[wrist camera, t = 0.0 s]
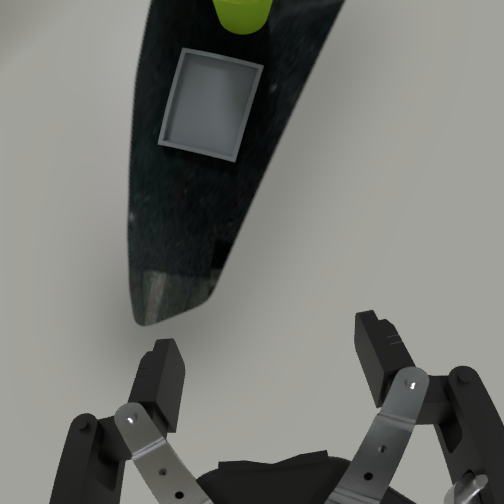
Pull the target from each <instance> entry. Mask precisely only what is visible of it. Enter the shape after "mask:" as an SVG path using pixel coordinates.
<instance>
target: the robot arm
mask: <svg viewBox="0 0 504 504" xmlns="http://www.w3.org/2000/svg"><path fill="white" fill-rule="evenodd" d="M354 342H355V349H356V352H357V355H358V358H359V360H360V363H361V366H362V368H363V371H364V374H365V377H366V379H367V382H368V385H369V388H370V391H371V393H372V396H373V399H374V402H375V405H376V408H379V407H382V408H381V410H380V412H379V414H377V415H376V417H375V418H374V420H373V422H372V424H371V426H370V428H369V431H368V432H367V434H366V436H365V438H364V440H363V442H362V444H361V445H360V447H359V449H358V451H357V453H356V455H355V456H354V458H353V460H352V461H349V460H347V459H343V458H339V457H329V456H328V453H327V450H324V451H318V452H312V453H306V454H300V455H297V456H295V457H292V458H289V459H286V460H283V461H280V462H278V463H274V464H267V463H259V462H251V461H227V462H219V464H218V469H215V470H212V471H209V472H208V473H205V474H203V475H202V476H201V477H199V478H198V479H195V477H194V476H193V475H192V474H191V472H190V471H189V470H188V469H187V467H186V466H185V465H184V464H183V462H182V461H181V460H180V458H179V457H178V455H177V454H176V453H175V451H174V450H173V449H172V447H171V446H170V444H169V443H168V442H167V440H166V437H167V433H176V427H177V421H178V415H179V408H180V402H181V396H182V389H183V384H184V378H185V365H184V362H183V359H182V357H181V354H180V352H179V350H178V347H177V345H176V342H175V340H174V339H173V338H171V339H160V340H156V342H155V346H154V348H153V351H149V352H147V353H146V354H145V355H144V356H143V358H142V359H141V361H140V364H139V367H138V371H137V373H136V378H135V380H134V383H133V386H132V390H131V393H130V397H129V400H128V403H127V404H124V405H123V406H121V407H120V408H119V409H118V410H117V411H116V413H115V415H114V416H111V417H108V418H103V419H99V420H97V419H96V418H95V416H93V415H92V414H89V413H85V414H81V415H79V416H77V417H76V418H75V419H74V420H73V421H72V423H71V425H70V429H69V432H68V435H67V438H66V442H65V445H64V448H63V452H62V455H61V459H60V463H59V466H58V470H57V474H56V478H55V482H54V486H53V490H52V494H51V498H50V503H49V504H119V503H120V495H121V488H122V481H123V474H124V468H125V462H126V460H130V459H132V460H133V462H134V464H135V465H136V467H137V469H138V470H139V472H140V474H141V476H142V477H143V479H144V480H145V482H146V484H147V485H148V487H149V488H150V490H151V491H152V493H153V495H154V496H155V498H156V499H157V501H158V502H159V504H416V503H415V502H413V501H411V500H410V499H408V498H407V497H405V496H404V495H402V494H400V493H399V492H397V491H395V490H394V489H393V488H391V487H390V486H389V484H390V482H391V480H392V478H393V475H394V473H395V471H396V469H397V467H398V465H399V462H400V460H401V458H402V455H403V453H404V451H405V449H406V446H407V444H408V442H409V439H410V437H411V434H412V432H413V429H414V426H415V425H418V424H420V425H423V424H433V425H434V427H435V430H436V433H437V436H438V439H439V442H440V445H441V448H442V451H443V454H444V457H445V461H446V463H447V467H448V470H449V474H450V477H451V480H452V484H453V486H452V487H451V488H450V489H449V490H448V492H447V493H446V495H445V498H444V504H504V425H503V423H502V421H501V418H500V416H499V414H498V412H497V410H496V408H495V406H494V404H493V402H492V400H491V398H490V396H489V394H488V392H487V390H486V388H485V386H484V385H483V383H482V381H481V379H480V377H479V375H478V373H477V372H476V371H475V370H474V369H472V368H471V367H468V366H458V367H455V368H454V369H452V370H451V372H450V373H449V375H448V376H431V375H427V373H426V372H425V371H424V370H422V369H420V368H417V367H416V366H415V364H414V362H413V360H412V358H411V356H410V354H409V353H408V351H407V349H406V347H405V345H404V343H403V342H402V339H401V337H400V336H399V335H398V332H397V330H396V328H395V326H394V325H393V324H391V323H390V322H389V321H388V320H386V319H383V320H378V318H377V316H376V314H375V313H374V311H373V310H369V311H364V312H359V313H356V316H355V335H354Z"/></svg>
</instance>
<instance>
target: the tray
mask: <svg viewBox="0 0 504 504" xmlns="http://www.w3.org/2000/svg"><path fill="white" fill-rule="evenodd" d="M263 67H264V66H263V65H259V64H256V63H252V62H248V61H244V60H240V59H236V58H232V57H227V56H223V55H218V54H214V53H209V52H204V51H199V50H193V49H188V48H182V51H181V55H180V58H179V61H178V65H177V68H176V72H175V76H174V79H173V83H172V87H171V90H170V94H169V98H168V102H167V106H166V110H165V114H164V118H163V123H162V127H161V131H160V136H159V141H158V144H160V145H164V146H169V147H174V148H178V149H183V150H187V151H191V152H196V153H200V154H204V155H208V156H212V157H216V158H220V159H224V160H228V161H232V162H235V161H236V157H237V154H238V150H239V147H240V143H241V140H242V136H243V133H244V129H245V126H246V123H247V119H248V116H249V112H250V109H251V106H252V102H253V99H254V96H255V92H256V89H257V86H258V83H259V79H260V76H261V73H262V70H263Z"/></svg>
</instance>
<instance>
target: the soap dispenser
mask: <svg viewBox="0 0 504 504" xmlns="http://www.w3.org/2000/svg"><path fill="white" fill-rule="evenodd" d="M272 1H273V0H213V3H214V6H215V9H216V12H217V15H218V18H219V21H220V23H221V24H222V26H223V27H224V28H225V29H227V30H228V31H230V32H232V33H235V34H250V33H253V32H256V31H257V30H259V29H260V28H261V27H262V26H263V25H264V24H265V22H266V20H267V17H268V14H269V11H270V7H271V4H272Z"/></svg>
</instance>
